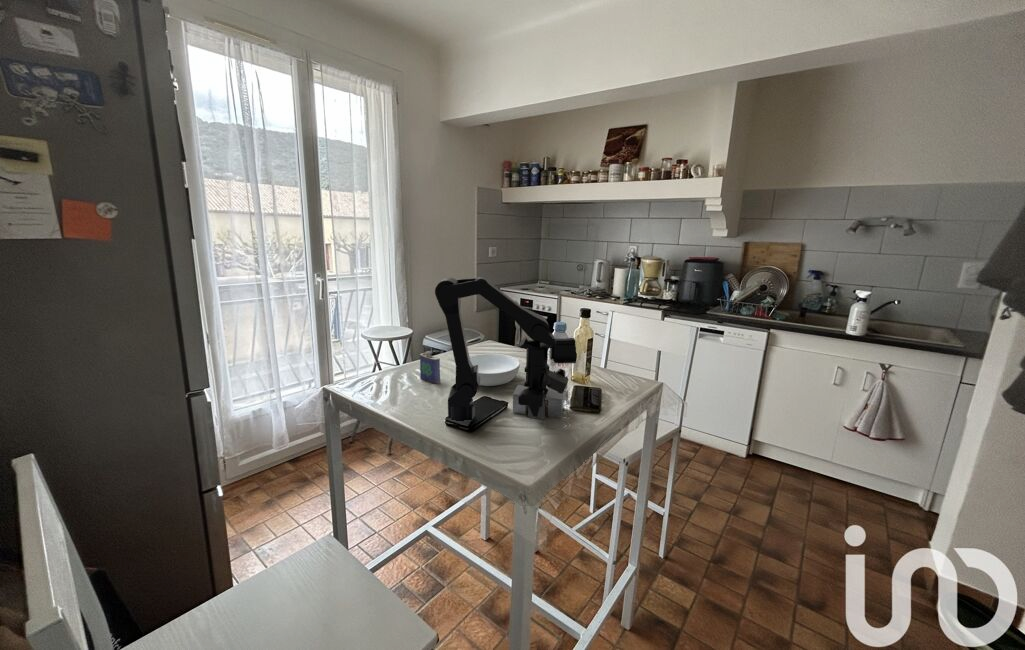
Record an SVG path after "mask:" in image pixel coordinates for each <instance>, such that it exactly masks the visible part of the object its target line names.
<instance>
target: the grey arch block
mask: <svg viewBox="0 0 1025 650" xmlns="http://www.w3.org/2000/svg"><path fill="white" fill-rule="evenodd" d="M527 388H528V387H524V384H517V386H516V388H515V390H514V391H513V393H512V414H520V415H526V414H527V411H528V406H526V405H520V404H518V398H519V395H520V393H521V392H522V391H523V390H524V389H527ZM547 389H548V392H547V394H546V398H545V400H546V401H548V402H547V403H548V407H547V408H548V409H547V410H548V411H547V417H548V418H554V419H555V418H556V419H562V416H563V411H564V404H565V403H564V402H565V391H564V392H563V393H562V394H561V393H558V392H557V391H555V390H553V389H551V388H549V387H547Z"/></svg>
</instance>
